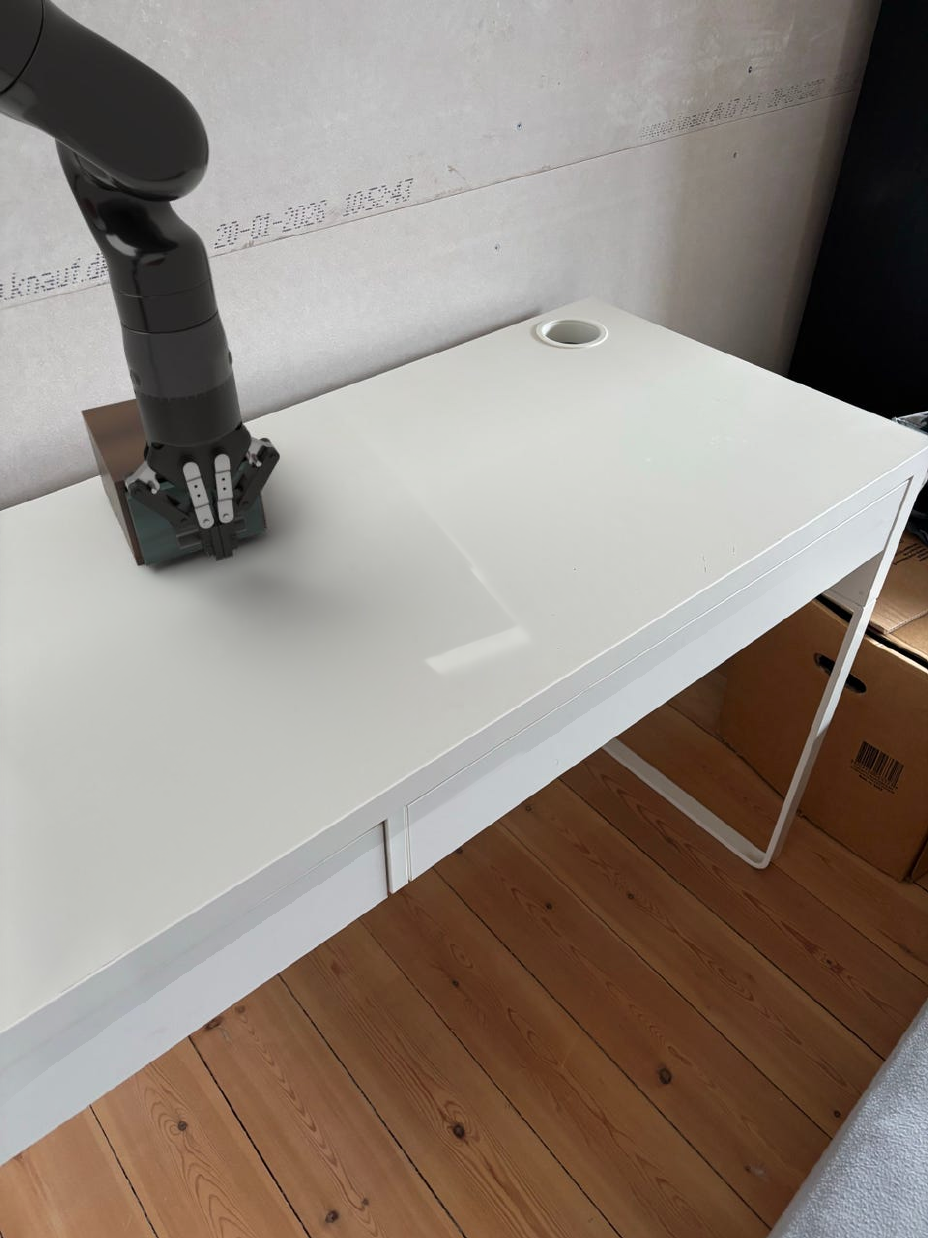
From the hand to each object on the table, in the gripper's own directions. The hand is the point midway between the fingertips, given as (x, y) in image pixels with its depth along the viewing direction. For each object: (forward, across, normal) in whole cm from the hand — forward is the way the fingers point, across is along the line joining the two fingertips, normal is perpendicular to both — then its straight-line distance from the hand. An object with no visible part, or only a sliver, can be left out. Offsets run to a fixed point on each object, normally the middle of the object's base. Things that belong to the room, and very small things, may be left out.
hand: (221, 553), depth 85 cm
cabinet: (+4, 0, -15) cm, 16 cm away
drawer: (+3, 0, -10) cm, 11 cm away
